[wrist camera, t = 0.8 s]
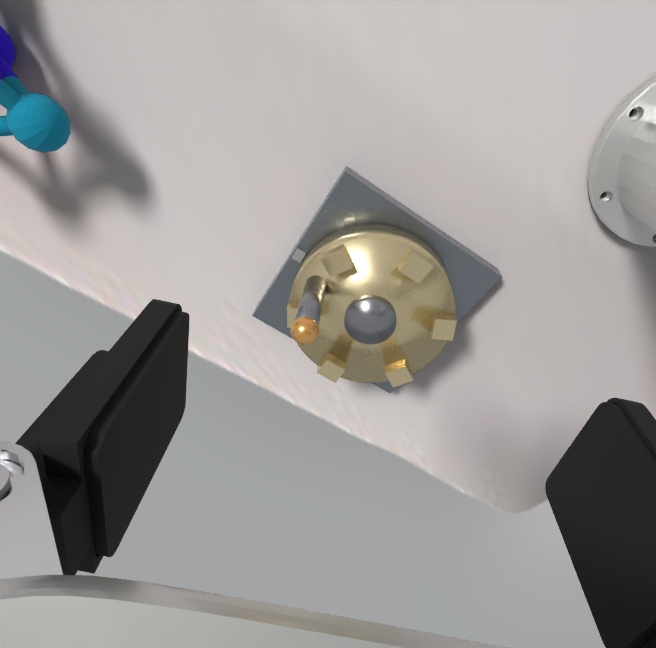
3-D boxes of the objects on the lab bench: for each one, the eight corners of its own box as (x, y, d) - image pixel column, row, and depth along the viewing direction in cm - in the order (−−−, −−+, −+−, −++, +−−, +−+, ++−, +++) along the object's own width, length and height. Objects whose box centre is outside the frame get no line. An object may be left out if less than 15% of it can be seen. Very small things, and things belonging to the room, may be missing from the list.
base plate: (497, 268, 38) (503, 279, 36) (389, 383, 45) (390, 395, 44) (346, 166, 35) (344, 172, 33) (256, 307, 42) (251, 318, 40)
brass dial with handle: (484, 281, 37) (517, 357, 28) (387, 383, 43) (390, 471, 34) (348, 191, 34) (339, 244, 25) (266, 315, 40) (236, 391, 32)
